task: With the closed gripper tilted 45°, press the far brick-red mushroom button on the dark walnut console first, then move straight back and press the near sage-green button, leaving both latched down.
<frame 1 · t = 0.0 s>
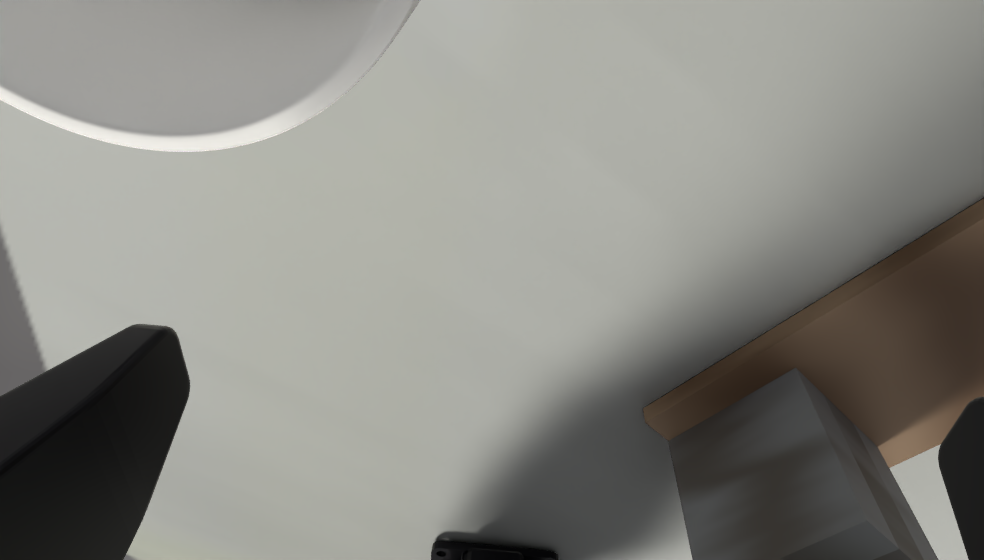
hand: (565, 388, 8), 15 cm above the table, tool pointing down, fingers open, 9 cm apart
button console: (940, 334, 25), on the table
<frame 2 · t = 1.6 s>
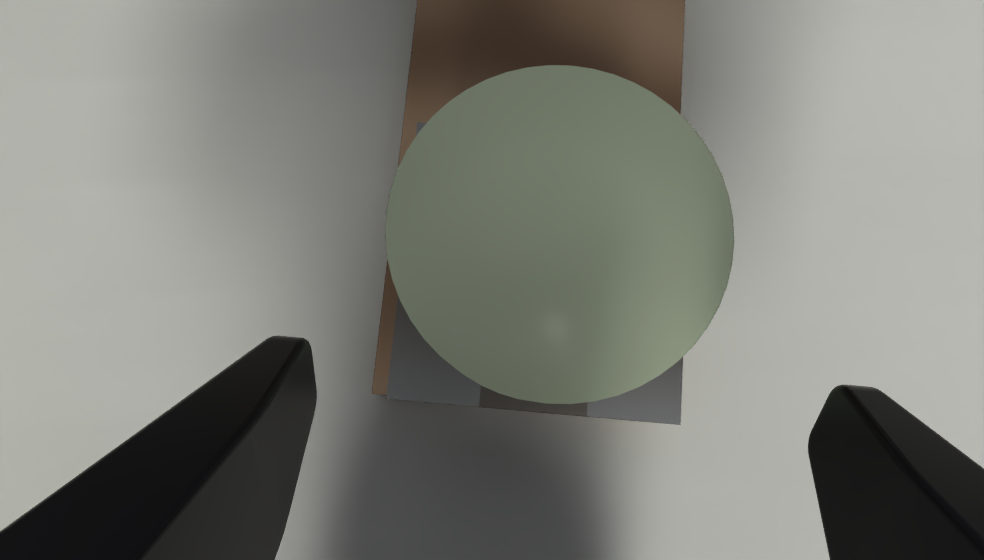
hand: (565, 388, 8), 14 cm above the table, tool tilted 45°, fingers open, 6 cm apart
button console: (542, 94, 23), on the table
sage button: (546, 260, 13), point 8 cm above the table, slide at 0.0 cm
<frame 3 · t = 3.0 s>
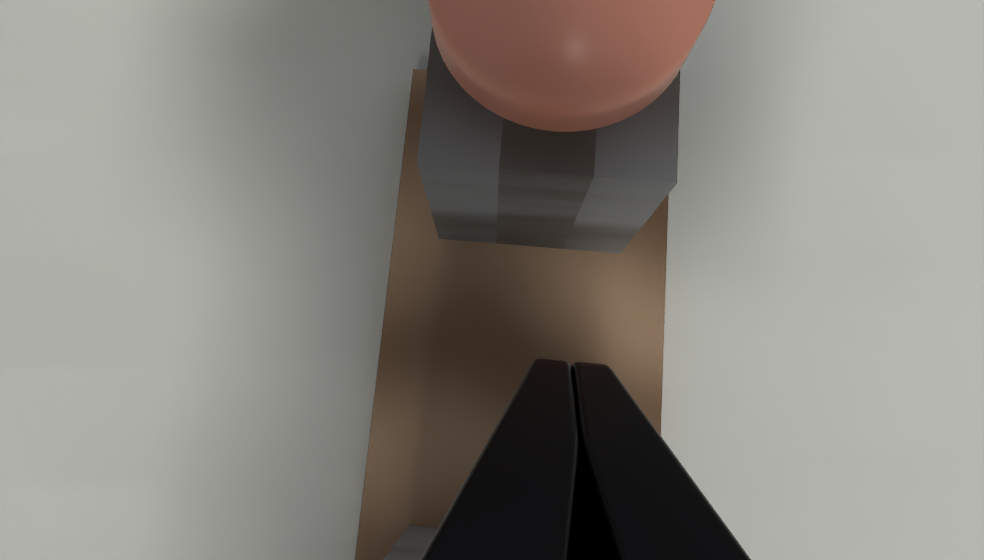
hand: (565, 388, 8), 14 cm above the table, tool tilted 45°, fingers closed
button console: (518, 385, 22), on the table
red button: (557, 38, 15), point 8 cm above the table, slide at 0.0 cm
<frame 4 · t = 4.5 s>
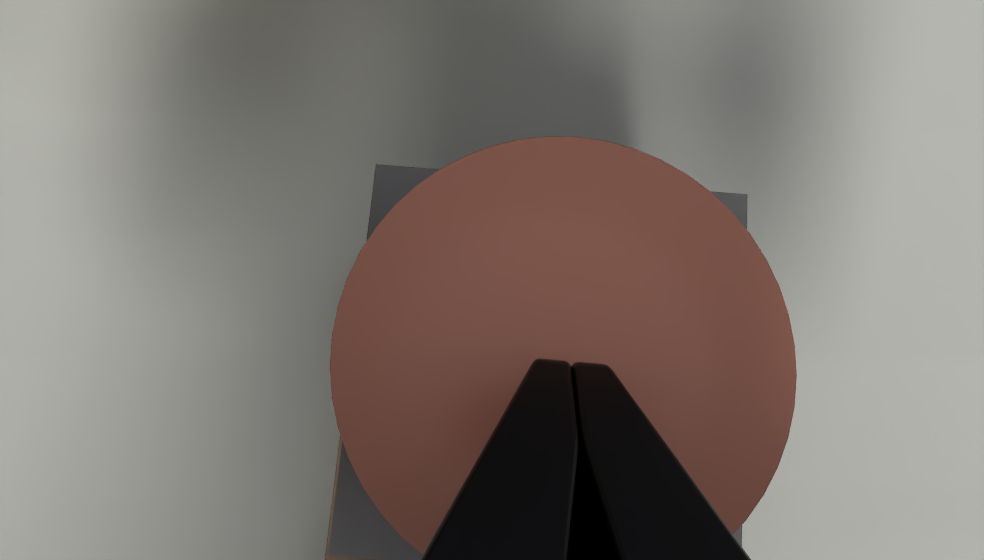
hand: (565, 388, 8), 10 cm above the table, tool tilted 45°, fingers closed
red button: (545, 367, 11), point 7 cm above the table, slide at 1.2 cm
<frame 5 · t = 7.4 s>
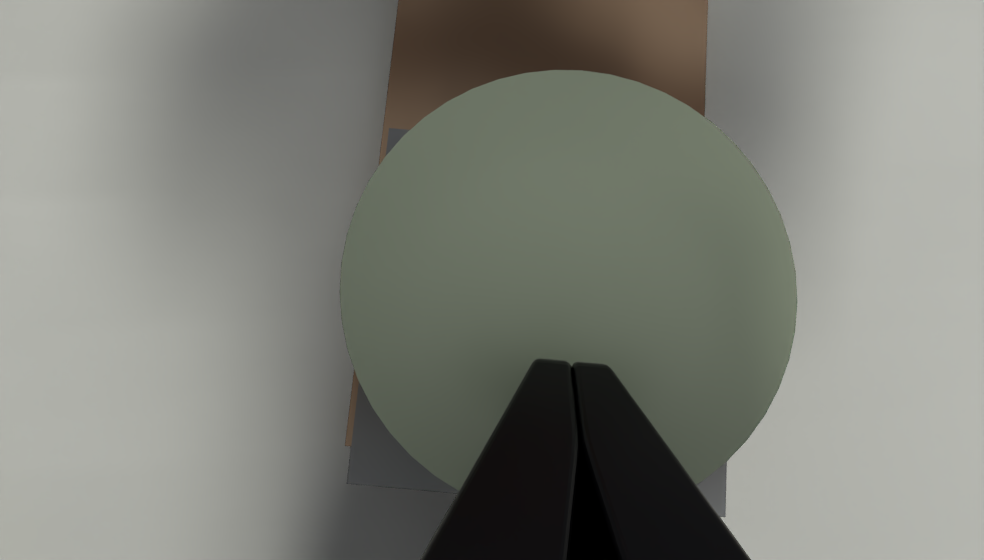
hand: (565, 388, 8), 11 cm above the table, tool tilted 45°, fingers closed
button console: (544, 94, 20), on the table
sage button: (549, 310, 11), point 8 cm above the table, slide at 0.5 cm
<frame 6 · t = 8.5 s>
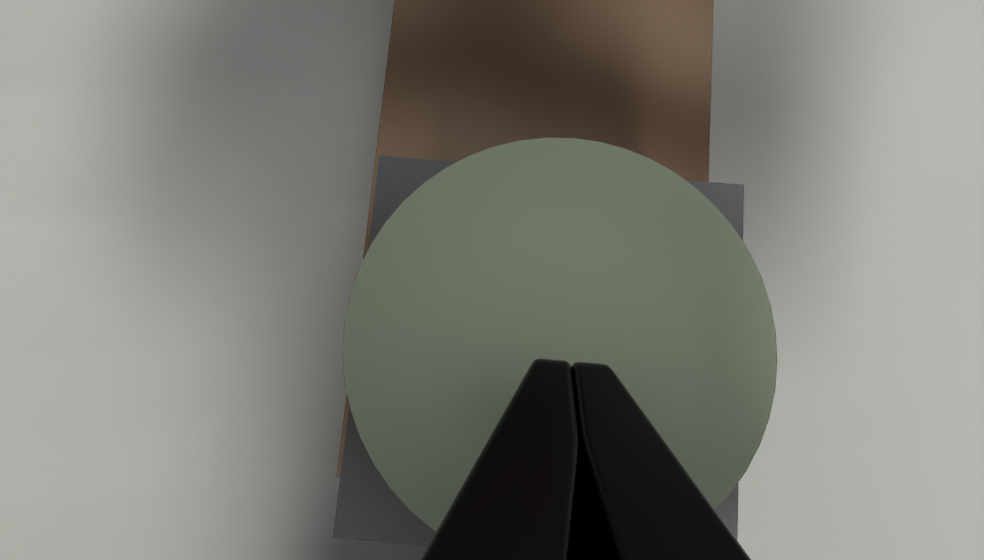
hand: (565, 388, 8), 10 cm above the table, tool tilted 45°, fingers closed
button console: (544, 109, 19), on the table
sage button: (543, 356, 11), point 7 cm above the table, slide at 1.6 cm
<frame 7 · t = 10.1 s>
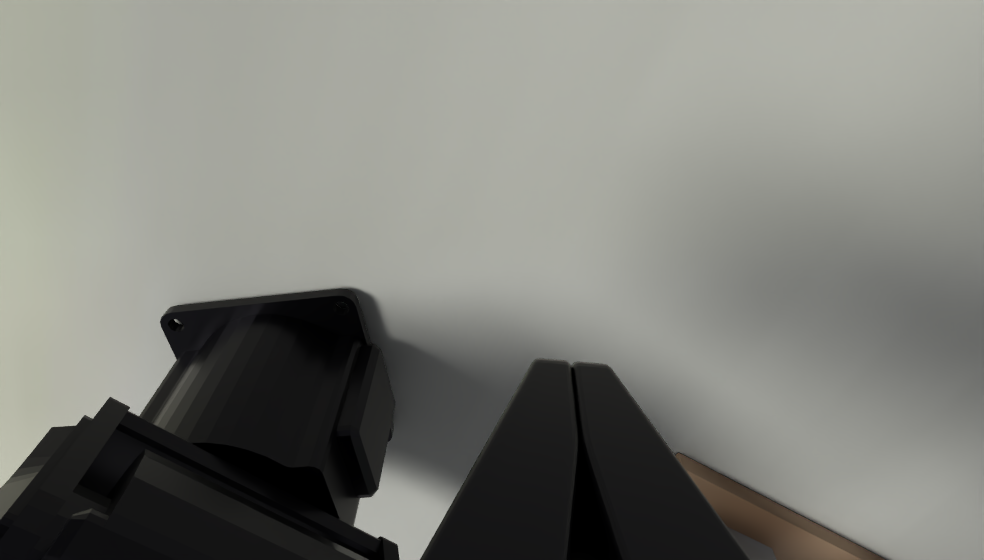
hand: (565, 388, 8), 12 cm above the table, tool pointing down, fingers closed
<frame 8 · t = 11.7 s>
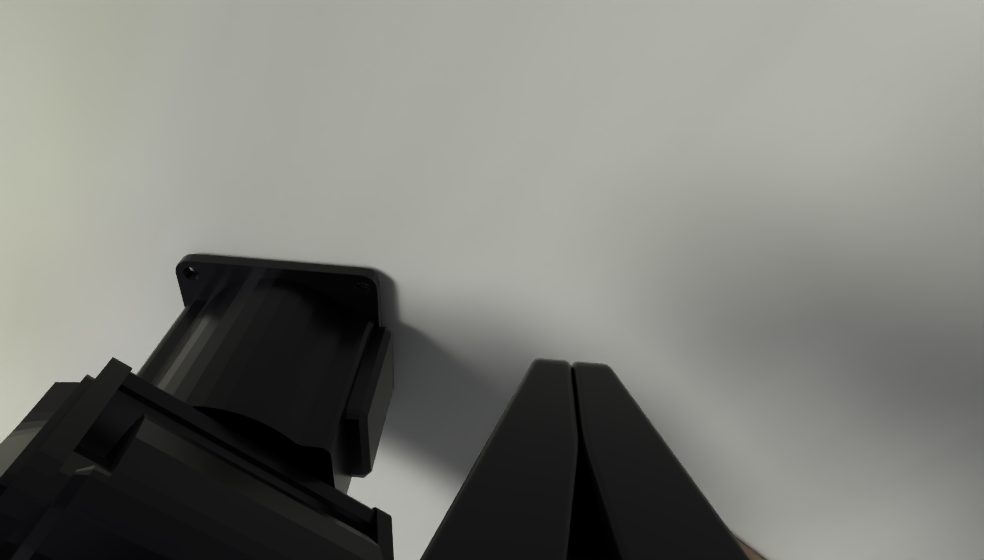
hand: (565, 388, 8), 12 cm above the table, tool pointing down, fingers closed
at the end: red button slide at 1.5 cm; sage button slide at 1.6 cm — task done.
